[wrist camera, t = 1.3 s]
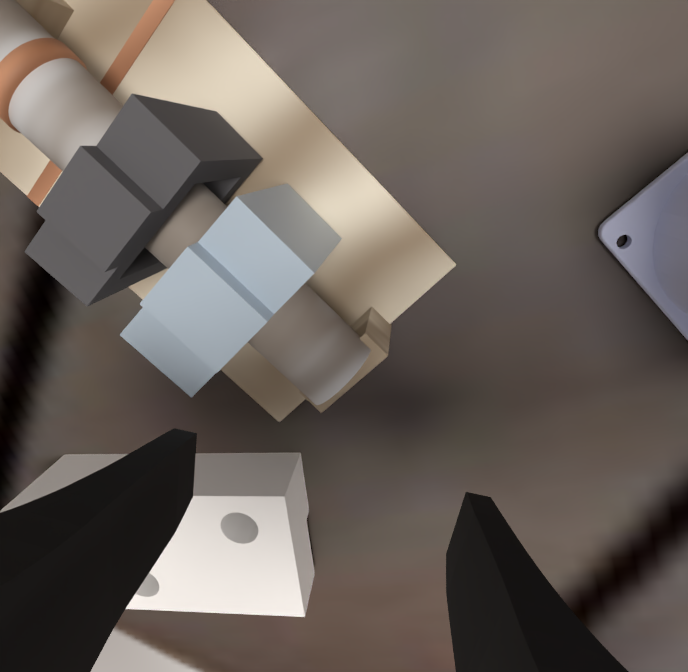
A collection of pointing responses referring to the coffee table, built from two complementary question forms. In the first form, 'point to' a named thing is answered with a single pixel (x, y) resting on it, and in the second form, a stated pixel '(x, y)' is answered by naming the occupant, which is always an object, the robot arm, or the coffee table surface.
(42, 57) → the pipe rig
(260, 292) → the sleeve
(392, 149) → the coffee table surface
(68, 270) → the grey notched block
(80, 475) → the bracket
